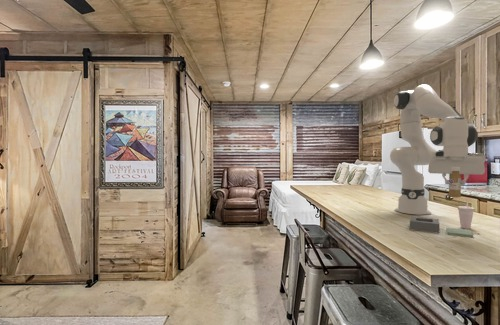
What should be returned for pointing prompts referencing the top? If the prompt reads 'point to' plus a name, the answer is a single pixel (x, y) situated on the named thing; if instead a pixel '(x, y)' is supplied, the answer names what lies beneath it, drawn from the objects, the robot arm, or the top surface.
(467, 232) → the rubber mat
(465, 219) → the smoothie
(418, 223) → the socket block
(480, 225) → the top surface
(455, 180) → the sprinkles bottle
